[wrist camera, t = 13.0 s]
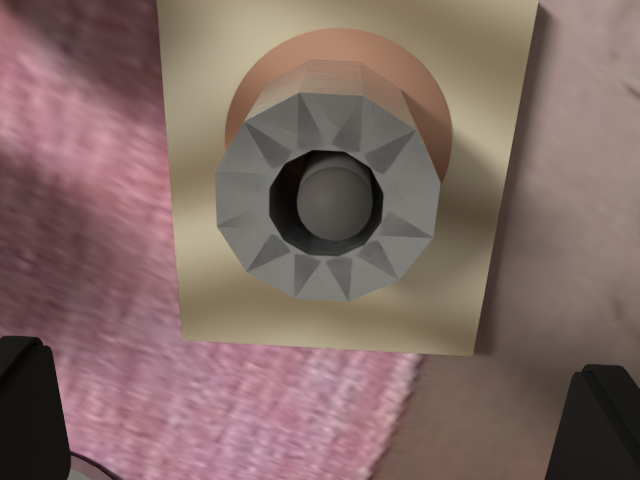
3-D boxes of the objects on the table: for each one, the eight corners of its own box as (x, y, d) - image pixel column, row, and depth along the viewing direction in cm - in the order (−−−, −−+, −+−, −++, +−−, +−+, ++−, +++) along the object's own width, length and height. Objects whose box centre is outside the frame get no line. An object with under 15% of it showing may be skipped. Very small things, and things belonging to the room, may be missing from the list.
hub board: (467, 338, 30) (509, 475, 22) (189, 322, 30) (134, 452, 22) (528, -7, 23) (622, 15, 15) (166, -23, 23) (73, -10, 15)
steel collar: (408, 231, 26) (424, 306, 20) (245, 222, 26) (219, 294, 20) (427, 64, 23) (452, 99, 17) (243, 55, 23) (211, 88, 17)
